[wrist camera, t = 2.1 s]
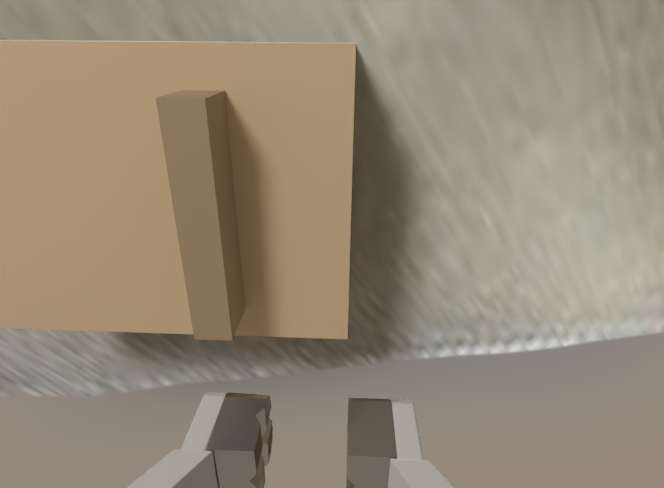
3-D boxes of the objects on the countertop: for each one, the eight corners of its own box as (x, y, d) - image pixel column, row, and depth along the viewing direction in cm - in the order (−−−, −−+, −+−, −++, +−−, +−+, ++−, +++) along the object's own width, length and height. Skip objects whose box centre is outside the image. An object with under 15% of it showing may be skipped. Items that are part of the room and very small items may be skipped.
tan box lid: (355, 43, 20) (356, 44, 16) (347, 331, 26) (347, 374, 23) (-111, 39, 20) (-205, 39, 17) (-1, 320, 27) (-52, 360, 24)
